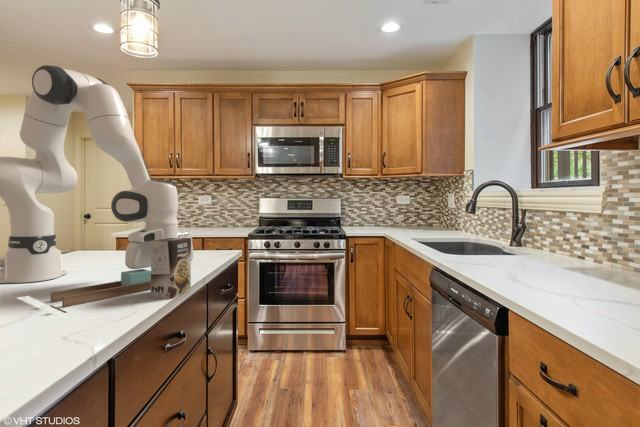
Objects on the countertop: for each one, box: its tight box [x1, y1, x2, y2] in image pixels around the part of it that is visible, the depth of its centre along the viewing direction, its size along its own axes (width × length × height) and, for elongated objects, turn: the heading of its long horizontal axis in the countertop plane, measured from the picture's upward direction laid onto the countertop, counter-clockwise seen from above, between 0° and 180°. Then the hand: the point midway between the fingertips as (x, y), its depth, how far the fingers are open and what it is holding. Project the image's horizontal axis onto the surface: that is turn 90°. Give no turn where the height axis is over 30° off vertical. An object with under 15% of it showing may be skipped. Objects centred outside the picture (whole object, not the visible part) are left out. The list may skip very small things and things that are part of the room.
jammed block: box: [120, 268, 151, 286], centre depth 99 cm, size 5×6×5 cm
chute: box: [50, 280, 151, 314], centre depth 93 cm, size 8×24×4 cm, turn 146°
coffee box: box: [150, 238, 192, 300], centre depth 95 cm, size 9×6×16 cm
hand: (161, 279), depth 106 cm, fingers closed
